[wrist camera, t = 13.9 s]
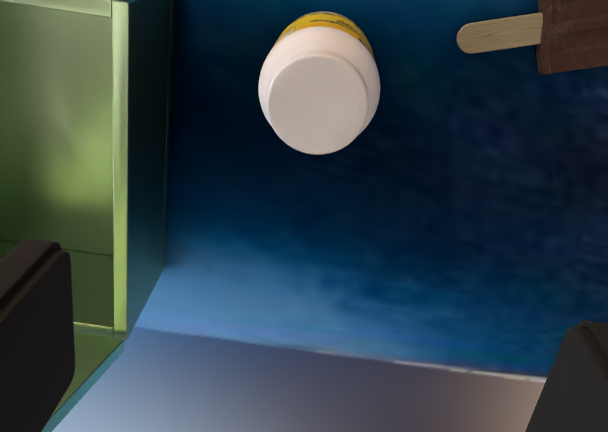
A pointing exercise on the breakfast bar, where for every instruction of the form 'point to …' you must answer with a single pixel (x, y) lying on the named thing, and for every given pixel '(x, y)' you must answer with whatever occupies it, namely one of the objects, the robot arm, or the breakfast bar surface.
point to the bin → (89, 145)
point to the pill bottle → (320, 83)
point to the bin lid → (86, 370)
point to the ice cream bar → (548, 34)
